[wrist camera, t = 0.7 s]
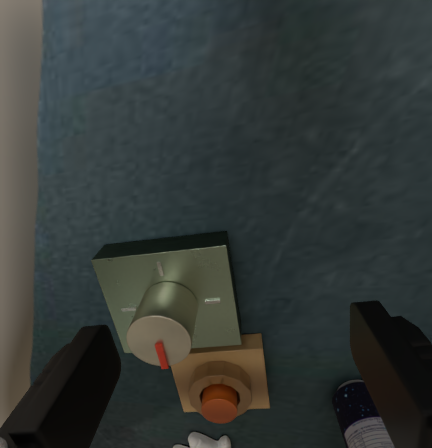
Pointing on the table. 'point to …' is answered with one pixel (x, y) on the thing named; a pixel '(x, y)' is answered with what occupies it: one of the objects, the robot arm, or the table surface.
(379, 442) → the beverage can
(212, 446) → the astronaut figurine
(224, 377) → the button block
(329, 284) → the table surface
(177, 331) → the rotary dial knob
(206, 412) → the button
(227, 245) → the control knob panel
